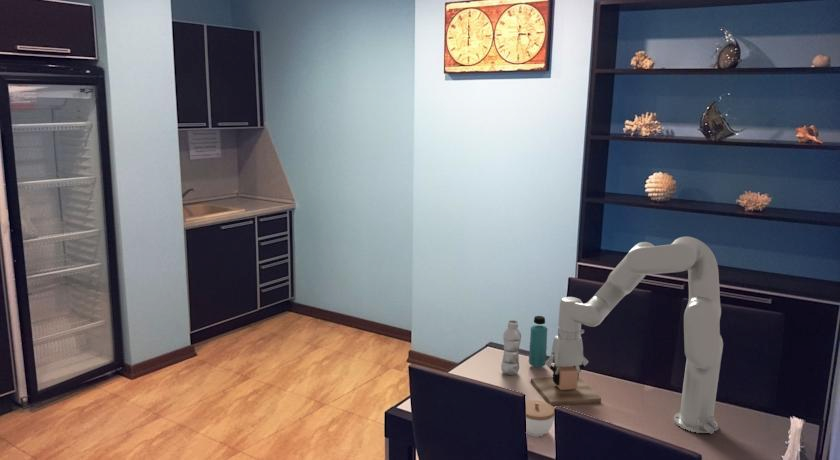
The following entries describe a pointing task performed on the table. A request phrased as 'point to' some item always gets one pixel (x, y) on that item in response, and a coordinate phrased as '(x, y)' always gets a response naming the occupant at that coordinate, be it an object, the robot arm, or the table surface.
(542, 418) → the lidded jar
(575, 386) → the natural wood cube
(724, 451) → the table surface
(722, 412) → the table surface
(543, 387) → the post board
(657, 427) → the table surface
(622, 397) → the table surface
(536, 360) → the beverage bottle
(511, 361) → the plastic bottle
